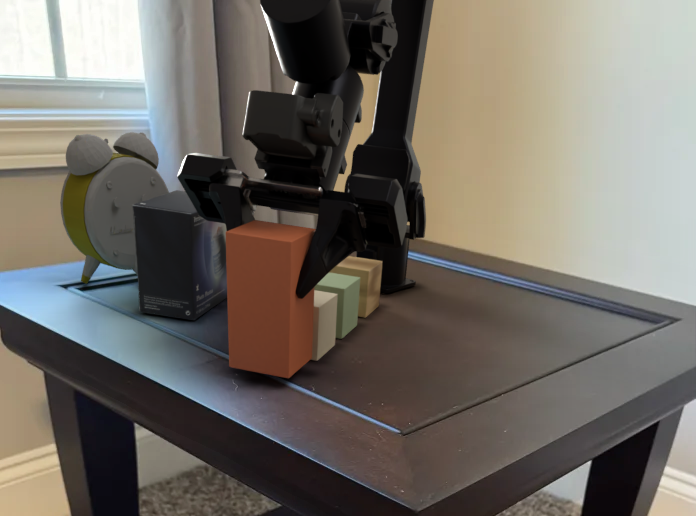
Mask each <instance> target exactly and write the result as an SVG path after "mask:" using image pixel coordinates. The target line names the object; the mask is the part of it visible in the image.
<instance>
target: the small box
mask: <svg viewBox="0 0 696 516" xmlns="http://www.w3.org/2000/svg"><path fill="white" fill-rule="evenodd" d="M132 207H133V221H134V236H135V249H136V259H137V274H138V276H137V290H138V312H139V313H144V314H150V315H156V316H164V317H169V318H175V319H181V320H189V321H195V320H197V319H198V318H200V317H201V316H202V315H204V314H205V313H207V312H208V311H210V310H211V309H213V308H214V307H216V306H217V305H219V304H220V303H222V302H223V301H224V300H227V265H226V232H227V230H226V225H225V223H219V222H212V221H207V220H205V219H204V218H202V217H200V216H199V214H198V212H197V211H196V209H195V207H194V205H193V204H192V202H191V200H190V198H189V197H188V195H187V193H186V192H185V190H180V189H176V190H172V191H169V193H166V194H163V195H160V196H157V197H154V198H151V199H148V200H145V201H142V202H138V203H135V204H133V205H132ZM137 274H136V275H137Z"/></svg>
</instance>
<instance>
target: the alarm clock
mask: <svg viewBox="0 0 696 516" xmlns="http://www.w3.org/2000/svg"><path fill="white" fill-rule="evenodd" d="M112 149H113V150H114V151H113V150H112ZM159 160H160V159H159V153H158V151H157V148H156V146H155V144H153V142H152V141H151V140H150V138H149V137H147V134H145V133H144V132H135V131H131V132H125V133H123V134H121V135H120V136H119V137H117V139H116V140H115V141H114V142H113V145H112V148H111V147H110V145H109V139H108V138H104V139H103V138H101V137H99V136H97V135H95V134H91V133H86V134H85V133H84V134H83V133H82V134H76V135H75V136H74V137H73V138H72V139H71V140H70V141H69V142H68V145H67V147H66V151H65V163H66V167H67V169H68V173H67V175H66V177H65V179H64V181H63V185H62V188H61V193H60V215H61V220H62V225H63V227H64V229H65V232H66V235H67V236H68V239H69V240H70V242H71V243H72V245H73V246H74V247H75V248H76V249H77V250H78V251H79V252H80V253H81V254H83V256H85V259H84V265H83V268H82V273H81V276H80V277H81V278H80V282H81V283H84V284H85V285H88V283H89V282H90V280H91V278H92V277H93V275H94V274H95V272H96V271H97V269H98V268H99V266H100V265H101V264H102V265H106V266H109V267H112V268H115V269H119V270H122V271H123V270H124V271H133V272H134V273H135V274H136V276H137V277H138V274H137V259H136V249H135V236H134V221H133V207H132V205H133V204H135V203H138V202H142V201H145V200H148V199H151V198H154V197H157V196H160V195H163V194H166V193H169V192H170V190H169V188H168V187H167V184H166V182H165V180H164V179H163V177H162V175H161V174H160V173H159V172H158V171H157V169H158V167H159V163H160V162H159Z"/></svg>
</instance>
